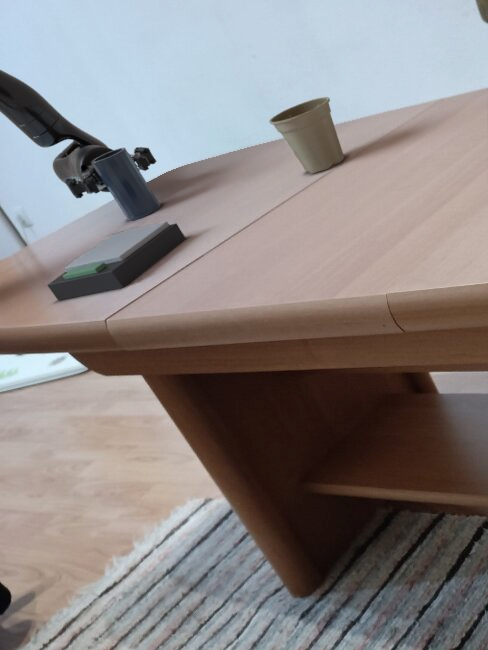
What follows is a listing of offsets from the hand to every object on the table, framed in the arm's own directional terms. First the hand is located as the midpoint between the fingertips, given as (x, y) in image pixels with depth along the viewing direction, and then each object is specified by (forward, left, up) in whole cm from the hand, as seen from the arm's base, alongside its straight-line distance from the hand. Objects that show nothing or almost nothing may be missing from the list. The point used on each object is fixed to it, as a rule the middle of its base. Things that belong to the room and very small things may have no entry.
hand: (119, 175), depth 142 cm
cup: (+1, -1, -7) cm, 7 cm away
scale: (+18, -26, -7) cm, 32 cm away
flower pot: (+37, +1, -7) cm, 38 cm away
